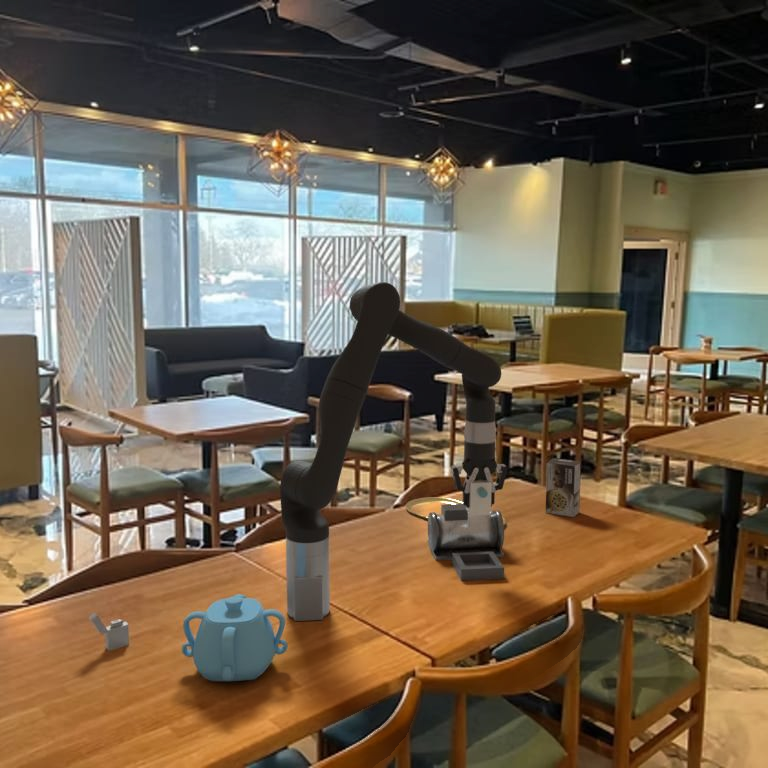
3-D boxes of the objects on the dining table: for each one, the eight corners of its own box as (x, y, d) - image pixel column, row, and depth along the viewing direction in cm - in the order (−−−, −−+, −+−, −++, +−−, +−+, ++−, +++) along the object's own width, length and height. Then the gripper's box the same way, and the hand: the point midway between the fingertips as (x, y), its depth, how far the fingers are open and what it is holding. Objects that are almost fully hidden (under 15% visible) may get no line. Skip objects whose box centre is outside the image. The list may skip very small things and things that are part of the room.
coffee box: (580, 512, 233) (582, 461, 230) (573, 517, 227) (575, 465, 225) (551, 507, 238) (553, 457, 235) (544, 512, 232) (546, 461, 230)
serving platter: (473, 540, 209) (473, 535, 209) (393, 509, 236) (393, 504, 236) (518, 526, 221) (518, 521, 221) (437, 498, 248) (437, 493, 248)
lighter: (126, 641, 151) (124, 603, 150) (129, 644, 150) (127, 606, 148) (90, 652, 146) (88, 613, 145) (93, 656, 145) (91, 617, 144)
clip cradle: (503, 578, 182) (504, 567, 182) (460, 580, 181) (461, 569, 181) (489, 557, 196) (490, 547, 195) (449, 559, 194) (449, 549, 194)
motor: (504, 557, 196) (505, 512, 194) (434, 560, 194) (435, 515, 192) (492, 541, 208) (493, 498, 206) (426, 543, 206) (427, 501, 204)
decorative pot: (175, 666, 142) (172, 597, 140) (248, 638, 153) (247, 574, 150) (219, 702, 130) (216, 628, 128) (295, 669, 141) (294, 601, 138)
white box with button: (493, 517, 180) (493, 485, 179) (472, 518, 180) (473, 486, 179) (485, 508, 188) (486, 477, 186) (465, 508, 187) (466, 477, 186)
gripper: (454, 443, 177) (452, 512, 180) (513, 441, 179) (511, 510, 182) (447, 435, 185) (446, 502, 187) (504, 434, 186) (502, 500, 189)
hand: (478, 506), depth 185 cm, fingers closed on white box with button, 5 cm apart
